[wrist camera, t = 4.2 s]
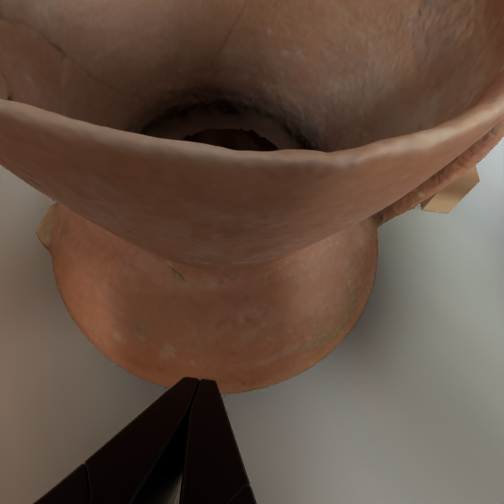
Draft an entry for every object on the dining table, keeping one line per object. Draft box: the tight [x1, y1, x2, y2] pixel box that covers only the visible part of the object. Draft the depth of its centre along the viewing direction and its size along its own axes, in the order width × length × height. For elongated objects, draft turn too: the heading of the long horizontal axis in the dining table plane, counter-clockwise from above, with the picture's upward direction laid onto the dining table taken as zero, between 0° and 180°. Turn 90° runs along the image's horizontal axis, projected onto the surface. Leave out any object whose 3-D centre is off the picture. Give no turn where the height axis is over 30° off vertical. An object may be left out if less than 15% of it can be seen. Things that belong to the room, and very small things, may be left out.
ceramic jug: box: [0, 0, 504, 394], centre depth 12 cm, size 18×14×14 cm
